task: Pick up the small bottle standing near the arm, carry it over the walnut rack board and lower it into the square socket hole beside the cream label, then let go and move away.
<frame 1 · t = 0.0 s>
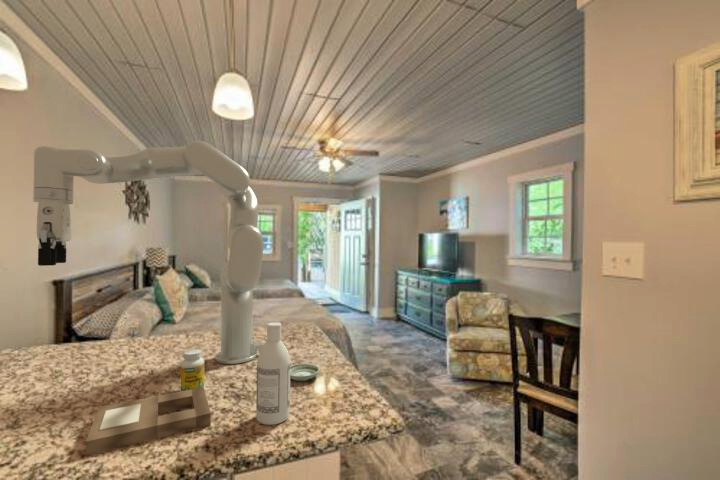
hand: (52, 264, 86), 31 cm above the worktop, tool pointing down, fingers open, 9 cm apart
rack board: (153, 422, 70), on the worktop
bath foam: (273, 418, 72), on the worktop
saucer: (302, 378, 93), on the worktop
supplement bottle: (192, 390, 85), on the worktop
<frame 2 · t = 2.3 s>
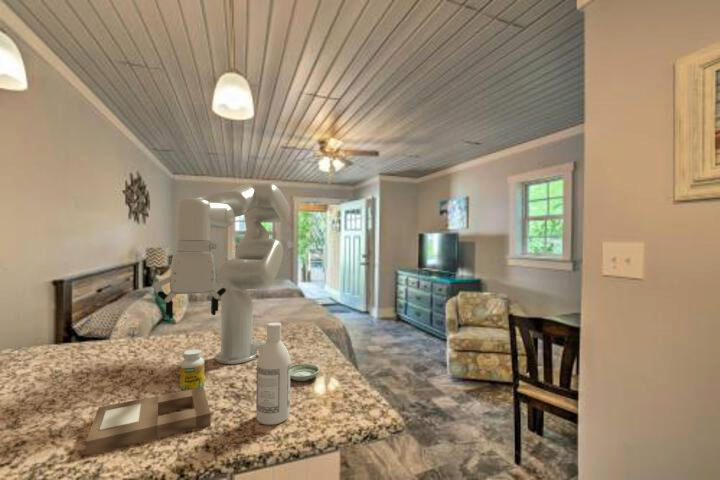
hand: (192, 315, 85), 19 cm above the worktop, tool pointing down, fingers open, 9 cm apart
nothing on the worktop moved.
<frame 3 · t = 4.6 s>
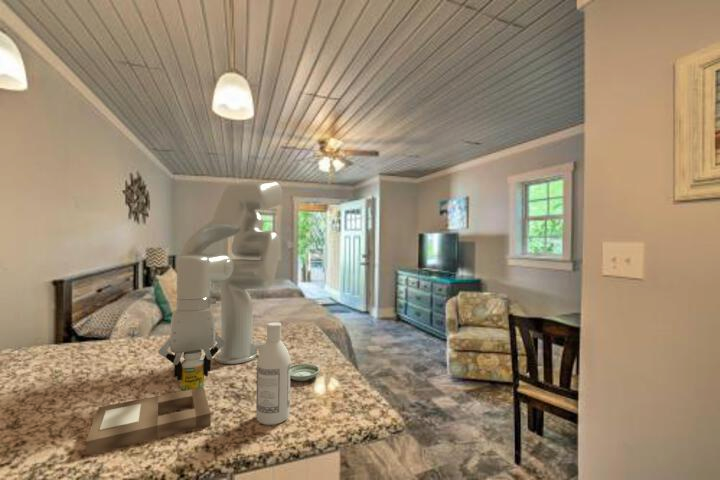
hand: (192, 375, 85), 3 cm above the worktop, tool pointing down, fingers closed on supplement bottle, 5 cm apart
supplement bottle: (192, 390, 85), on the worktop, touching gripper
everything else where it was.
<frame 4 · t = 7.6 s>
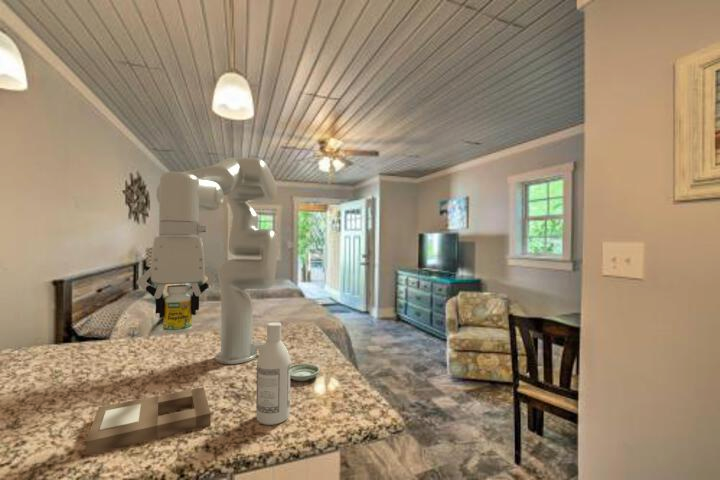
hand: (177, 314, 72), 22 cm above the worktop, tool pointing down, fingers closed on supplement bottle, 5 cm apart
supplement bottle: (177, 331, 72), point 18 cm above the worktop, touching gripper
everything else where it was.
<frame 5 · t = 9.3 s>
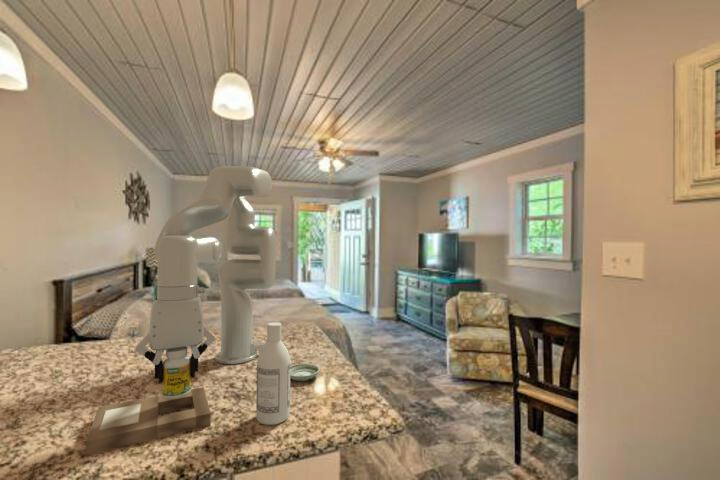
hand: (176, 377, 72), 8 cm above the worktop, tool pointing down, fingers closed on supplement bottle, 5 cm apart
supplement bottle: (176, 394, 72), point 5 cm above the worktop, touching gripper
everything else where it was.
when the fingers open (5 cm above the worktop, at t = 10.9 s): supplement bottle drops 1 cm, resting in rack board.
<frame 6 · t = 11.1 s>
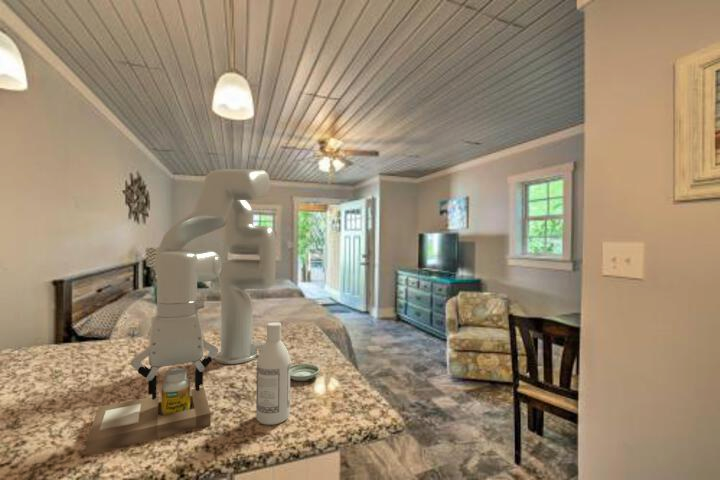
hand: (176, 392, 72), 5 cm above the worktop, tool pointing down, fingers open, 7 cm apart
supplement bottle: (175, 417, 72), resting in rack board
everything else where it was.
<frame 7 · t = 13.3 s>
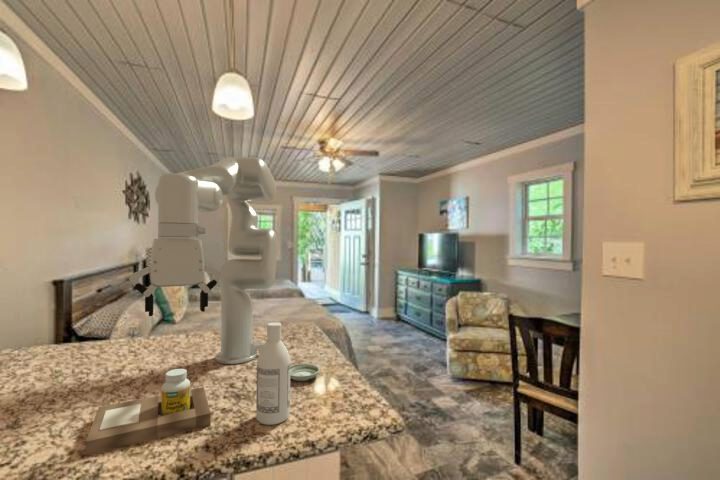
hand: (177, 312, 72), 22 cm above the worktop, tool pointing down, fingers open, 9 cm apart
nothing on the worktop moved.
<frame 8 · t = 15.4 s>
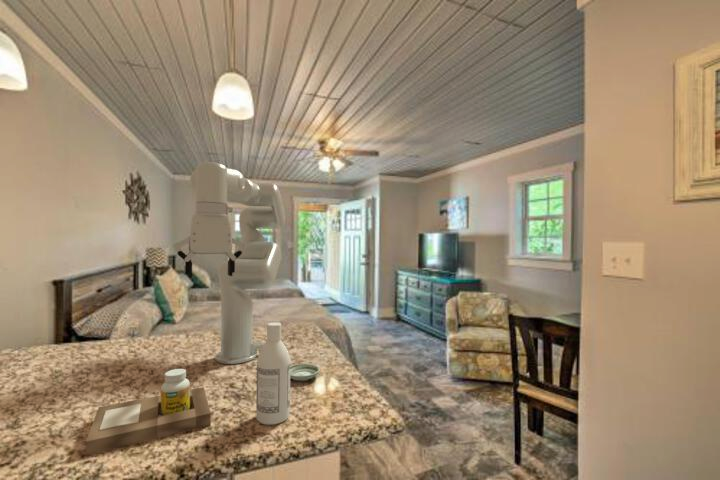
hand: (210, 276, 88), 28 cm above the worktop, tool pointing down, fingers open, 9 cm apart
nothing on the worktop moved.
at the end: supplement bottle 0.2 cm from the target spot on the rack board, point 0.0 cm above the rack board's base; supplement bottle tilted 0°; the gripper is holding nothing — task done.
